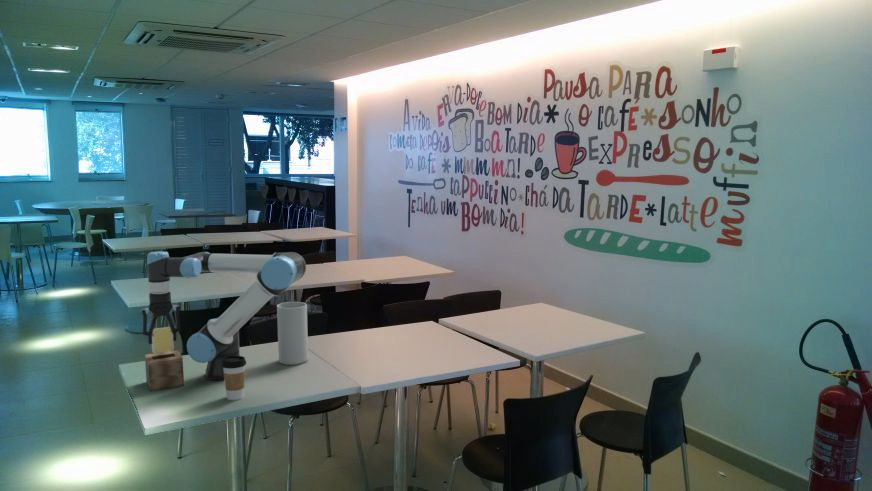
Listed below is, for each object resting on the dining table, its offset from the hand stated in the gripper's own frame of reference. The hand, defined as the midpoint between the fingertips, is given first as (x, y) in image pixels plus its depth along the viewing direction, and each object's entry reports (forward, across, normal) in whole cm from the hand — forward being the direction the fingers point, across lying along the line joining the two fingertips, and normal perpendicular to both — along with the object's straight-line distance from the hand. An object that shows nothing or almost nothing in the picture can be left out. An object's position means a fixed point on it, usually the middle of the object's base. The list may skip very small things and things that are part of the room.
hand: (163, 350), depth 234 cm
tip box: (+13, 0, 0) cm, 13 cm away
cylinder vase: (+13, -52, -2) cm, 54 cm away
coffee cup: (+13, -20, +29) cm, 38 cm away
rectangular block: (0, 0, 0) cm, 0 cm away
